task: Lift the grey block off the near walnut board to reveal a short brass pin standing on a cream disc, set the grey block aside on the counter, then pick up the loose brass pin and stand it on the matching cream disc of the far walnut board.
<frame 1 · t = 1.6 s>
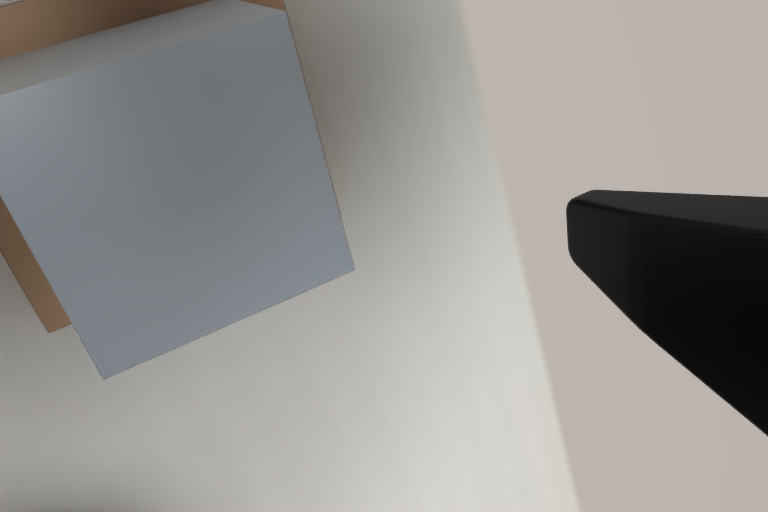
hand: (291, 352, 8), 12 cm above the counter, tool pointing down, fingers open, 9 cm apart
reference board: (148, 136, 18), on the counter
grey block: (153, 144, 17), point 1 cm above the counter, touching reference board
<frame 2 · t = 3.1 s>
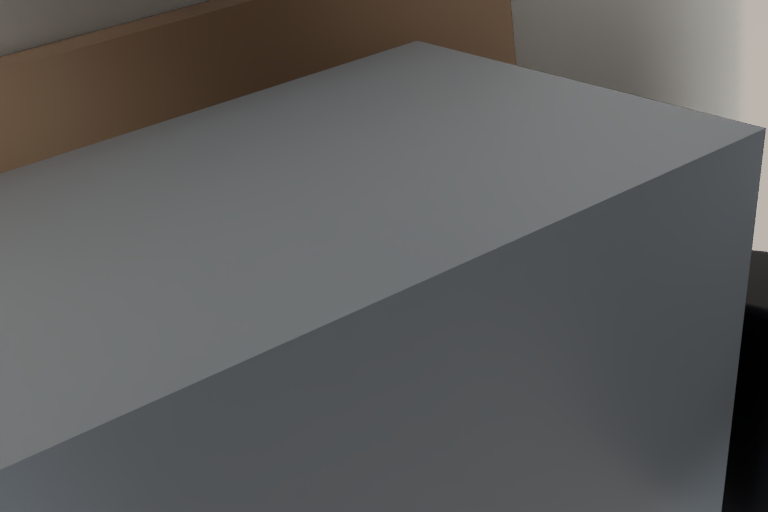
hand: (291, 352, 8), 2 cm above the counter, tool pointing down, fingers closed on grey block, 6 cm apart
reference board: (248, 284, 10), on the counter
grey block: (267, 314, 9), point 1 cm above the counter, touching gripper, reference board
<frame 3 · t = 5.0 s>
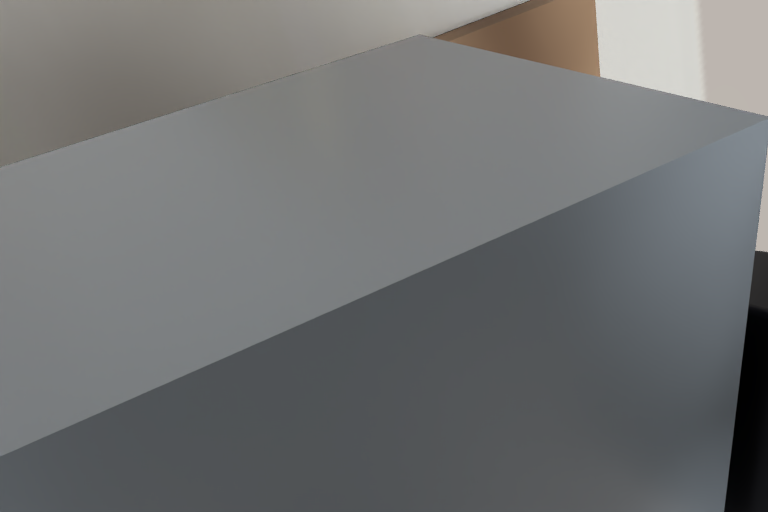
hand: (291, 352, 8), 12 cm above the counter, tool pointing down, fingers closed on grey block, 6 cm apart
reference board: (483, 138, 23), on the counter
grey block: (269, 309, 9), point 11 cm above the counter, touching gripper
when the fingers open (2 cm above the counter, at t = 7.3 s): grey block drops 1 cm, on the counter.
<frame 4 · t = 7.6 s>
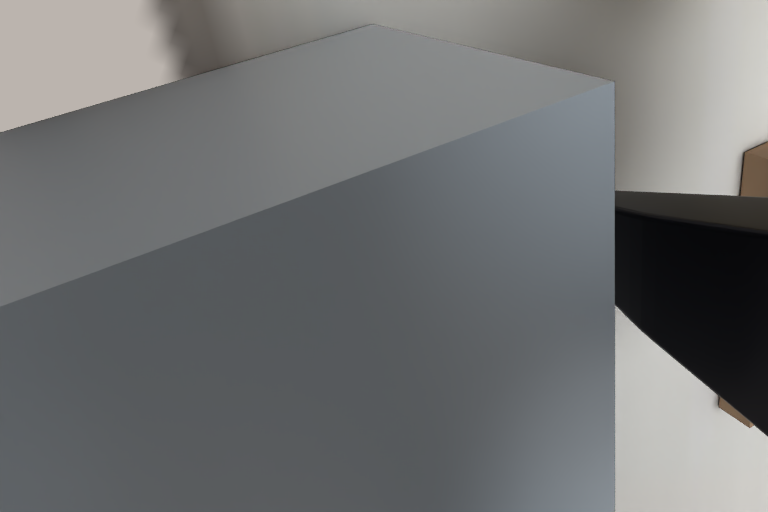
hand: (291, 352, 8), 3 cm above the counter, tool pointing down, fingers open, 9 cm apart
grey block: (241, 265, 10), on the counter
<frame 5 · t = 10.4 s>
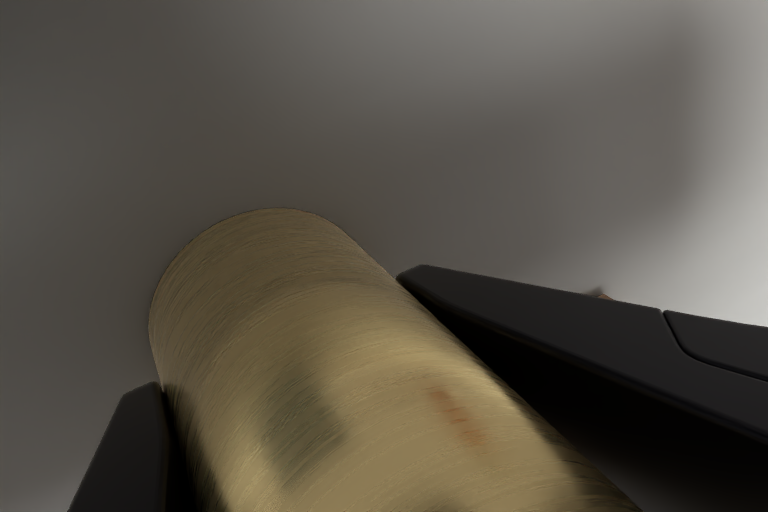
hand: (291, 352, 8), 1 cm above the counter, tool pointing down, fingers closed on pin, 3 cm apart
pin: (267, 315, 9), on the counter, touching gripper
when the fingers open (3 cm above the counter, at t = 13.9 s): pin drops 1 cm, resting on build board.
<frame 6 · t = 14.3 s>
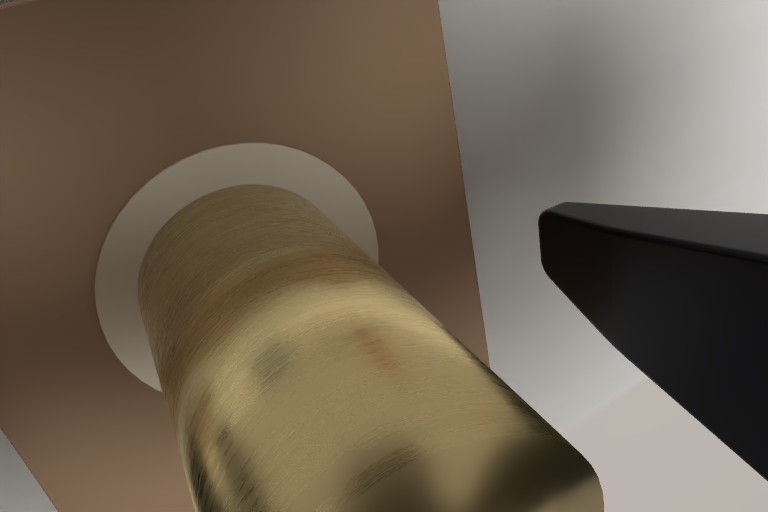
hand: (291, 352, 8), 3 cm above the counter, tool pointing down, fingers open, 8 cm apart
build board: (232, 255, 11), on the counter
pin: (247, 283, 10), point 1 cm above the counter, touching build board
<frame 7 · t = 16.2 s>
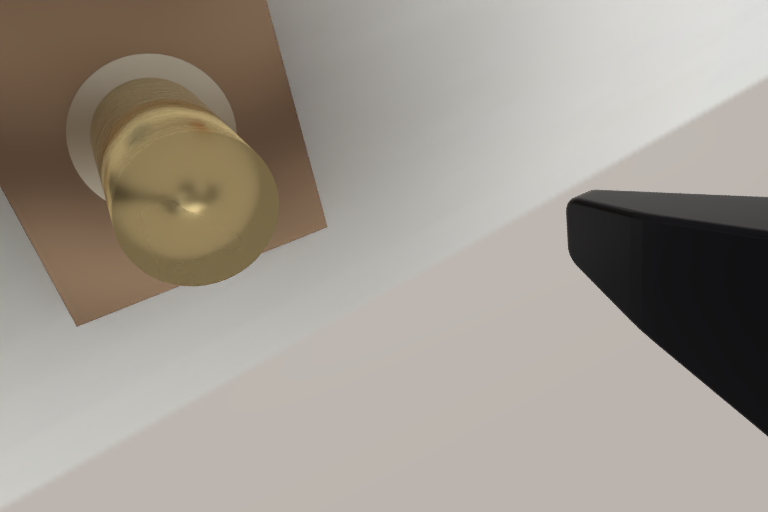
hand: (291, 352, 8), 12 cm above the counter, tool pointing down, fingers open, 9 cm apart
build board: (150, 128, 18), on the counter
pin: (154, 137, 18), point 1 cm above the counter, touching build board
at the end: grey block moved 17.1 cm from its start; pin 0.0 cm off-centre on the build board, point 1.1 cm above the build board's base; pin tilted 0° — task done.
